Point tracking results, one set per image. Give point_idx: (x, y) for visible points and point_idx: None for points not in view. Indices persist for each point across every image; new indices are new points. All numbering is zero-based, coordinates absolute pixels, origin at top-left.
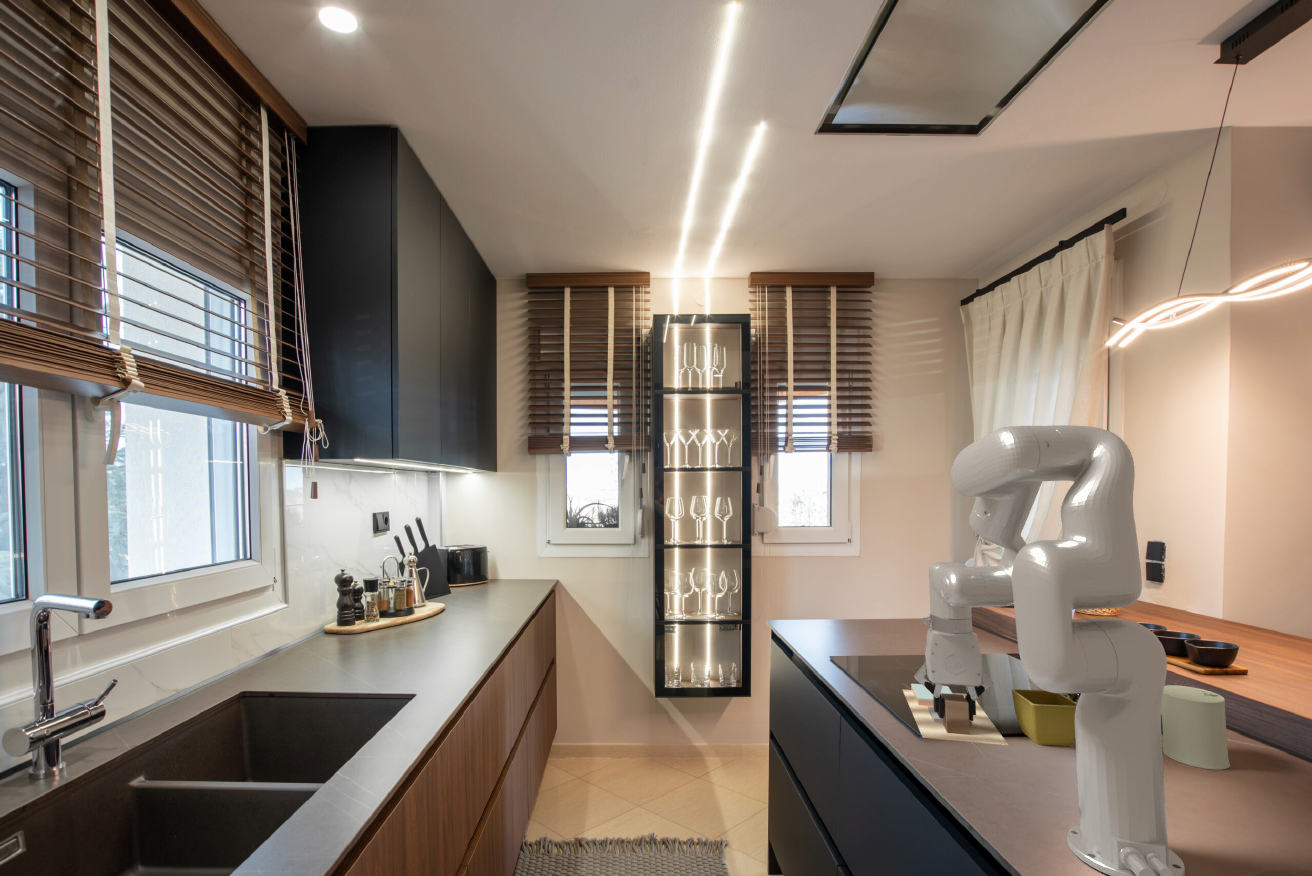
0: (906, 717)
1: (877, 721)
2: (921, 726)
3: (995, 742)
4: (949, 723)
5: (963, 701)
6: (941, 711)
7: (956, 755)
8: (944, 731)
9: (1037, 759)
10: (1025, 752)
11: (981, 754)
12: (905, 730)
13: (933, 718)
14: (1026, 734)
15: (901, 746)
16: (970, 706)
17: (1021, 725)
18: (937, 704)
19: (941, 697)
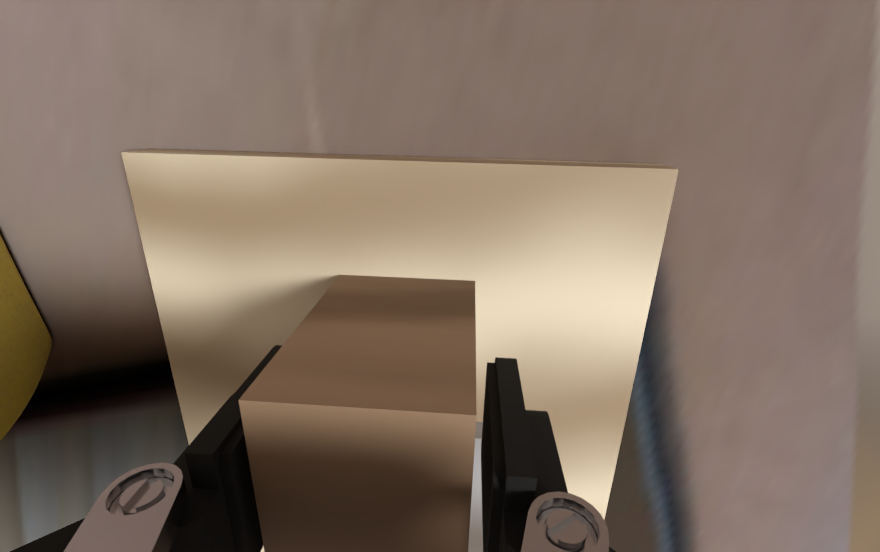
0: (620, 515)
1: (818, 451)
2: (616, 356)
3: (197, 181)
4: (457, 308)
5: (283, 445)
6: (507, 388)
7: (484, 7)
8: (487, 302)
9: (2, 67)
10: (66, 162)
11: (315, 68)
12: (694, 354)
13: None
14: (20, 325)
15: (838, 87)
16: (239, 411)
17: (3, 370)
18: (536, 450)
19: (496, 516)
